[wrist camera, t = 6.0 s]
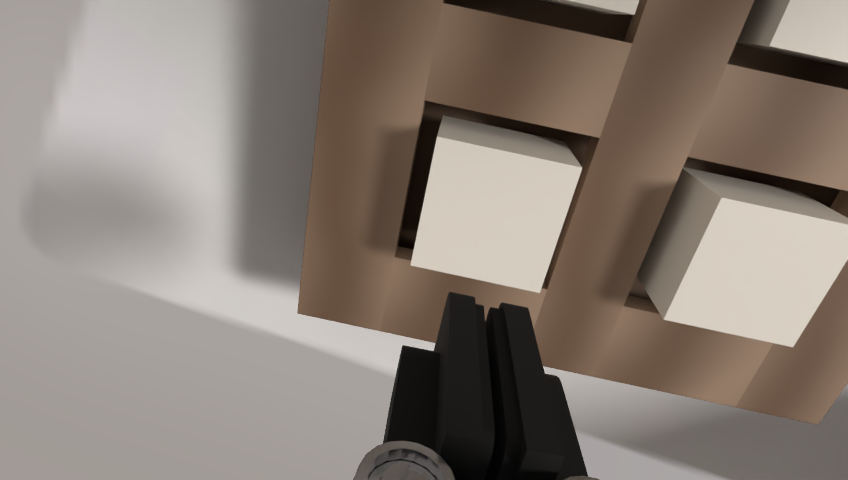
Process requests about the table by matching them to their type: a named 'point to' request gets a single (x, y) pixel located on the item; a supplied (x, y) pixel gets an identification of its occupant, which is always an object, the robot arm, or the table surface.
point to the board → (597, 185)
